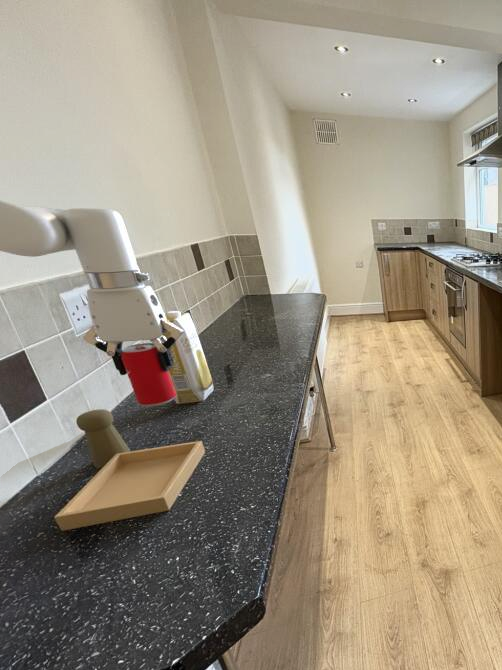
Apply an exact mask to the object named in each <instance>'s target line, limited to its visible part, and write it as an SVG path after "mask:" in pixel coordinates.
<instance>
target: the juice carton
mask: <svg viewBox="0 0 502 670" xmlns="http://www.w3.org/2000/svg"><path fill="white" fill-rule="evenodd" d="M164 314H165V316H166V319H167V321H169V322H171V323H172V324H174V325H176V326H177V327H179V328H181V329H182V330H183V331H184V332H183V333H182V335H181V336H180V337H179V338H178V339H177V341H176V342H175V343H174V344H173V346H172V347H171V348H170V351H171V354H172V358H173V361H174V365H173V367H172V368H171V369H170V370H168V371H169V374H170V377H171V380H172V383H173V386H174V389H175V392H176V397H175V398H174V399H173V400H174V401H175V403H176V404H177V405H181V404H182V405H183V404H193V403H202V402H205V400H206V399H207V398H208V397H209V396H210V395H211V394H212V393H213V392H214V390H215V389H214V382H213V378H212V375H211V372H210V369H209V365H208V363H207V359H206V356H205V354H204V353H205V352H204V350H203V347H202V344H201V341H200V338H199V335H198V332H197V329H196V325H195V323H194V321H193V318H192V317H191V314H190V312H182V311H180V310H170V311H167V313H164ZM162 335H163V336H164V337H165V338H166V339H168V338H169V337H170V335H171V332H170V331H169V332H168V333H166V334H162Z"/></svg>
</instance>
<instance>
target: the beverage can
mask: <svg viewBox="0 0 502 670" xmlns="http://www.w3.org/2000/svg"><path fill="white" fill-rule="evenodd" d="M157 353H159V350H158V348H157V347H156V346H155V345H154V344H153V343H152V342H144V343H136V344H132V345H127V346H125V347H122V356H121V359H122V361H123V364H124V367H125V369H126V372H127V374H126V375H127V377H128V379H129V382H130V385H131V388H132V390H133V393H134V396H135V398H136V400H137V403H138V404H139V405H140V406H145V407H157V406H163V405H166V404H168V403H170V402H171V401H173V400H175V399H174V398H175V397H176V392H175V389H174V386H173V383H172V380H171V377H170V374H169V371H163V370H162V367H161V364H160V361H159V358H158V355H157Z"/></svg>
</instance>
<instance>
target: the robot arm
mask: <svg viewBox="0 0 502 670" xmlns="http://www.w3.org/2000/svg"><path fill="white" fill-rule="evenodd" d="M66 251H75V252H76V255H77V257H78V261H79V263H80V265H81V268H82V271H83V274H84V277H85V278H86V282H87V284H88V287H89V289H87V290H86V299H87V300H86V301H87V306H88V311H89V315H90V319H91V321H92V326H91V327H90V328H89V330H87V331H86V333H85V334H84V335H83V336H82V340H83V341H85V342H86V343H89V344H90V345H92V346H95V348H97V349H98V350H100V351H102V352H104V353H105V354H106V355H107V356H108V357H111V359H112V363H113V365H114V367H115V369H116V371H118V372H119V374H120V376H126V375H128V374H127V372H126V369H125V367H124V364H123V361H122V359H121V356H122V349H123V344H124V342H136V341H137V342H138V341H139V342H140V341H150V343H153V344H154V345H155V346H156V347H157V348H158V350H159V353H157V355H158V358H159V361H160V364H161V367H162V370H163V371H168V370H170V369H171V368H172V367H173V365H174V361H173V358H172V354H171V351H170V348H171V347H172V346H173V344H174V343H175V342H176V341H177V339H178V338H179V337H180V336H181V335H182V333H183V332H184V331H183V330H182V329H181V328H179V327H177V326H176V325H174V324H172V323H171V322H169V321H167V319H166V316H165V314H166V313H165V312H164V310H163V307H162V305H161V303H160V300H159V298H158V296H157V295H156V293H155V291H154V290H153V288H152V286H151V285H145V284H146V282H147V281H148V282H149V281H151V280H152V277H151V274H150V273H144V272H143V271H142V270H141V269H140V267H139V265H138V262H137V259H136V256H135V253H134V250H133V247H132V243H131V241H130V237H129V234H128V231H127V227H126V225H125V222H124V220H123V217H122V216H121V214H120V213H119V212H118V211H116V210H114V209H110V208H69V209H62V208H61V209H60V208H52V207H45V206H33V205H17V204H13V203H10V202H7V201H4V200H1V199H0V252H3V253H7V254H11V255H16V256H22V257H28V258H29V257H30V258H31V257H33V258H35V257H41V256H47V255H51V254H55V253H61V252H66ZM169 331H170V332H171V335H170V337H169V338H168V339H166V338H165V337H164V336H163V335H162V334H166V333H168V332H169Z"/></svg>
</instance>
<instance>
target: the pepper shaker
mask: <svg viewBox="0 0 502 670" xmlns="http://www.w3.org/2000/svg"><path fill="white" fill-rule="evenodd" d="M75 423H76V425H77V427H78V428H79V429H80V430H81V431H82V432H84V434H85V437H86V442H87V445H88V449H89V453H90V457H91V461H92V465H93V467H94V468H96V469H97V468H98V469H102V468H103V467H104V466H105V465H106V464H107V463H108V462H109V461H110V460H111V459H112V458H113V457H114V456H115V455H116V454H118V453H124V452H131V449H130V448H129V446H128V445H127V444H126V442H125V440H124V439H123V438H122V435H120V433H119V432H118V430H117V428H116V427H115V426H114V424H113V423H114V415H113V413H111V411H109V410H108V409H103V408H102V409H101V408H100V409H92V410H89V411H86V412H83V413H81V414H80V415H78V416H77V417H76V420H75Z"/></svg>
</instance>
